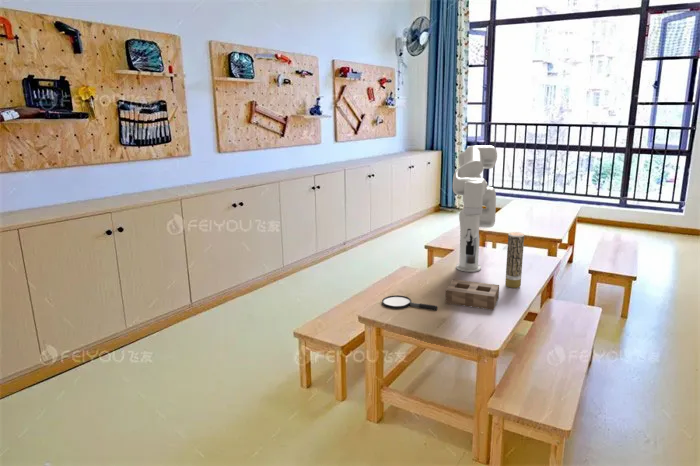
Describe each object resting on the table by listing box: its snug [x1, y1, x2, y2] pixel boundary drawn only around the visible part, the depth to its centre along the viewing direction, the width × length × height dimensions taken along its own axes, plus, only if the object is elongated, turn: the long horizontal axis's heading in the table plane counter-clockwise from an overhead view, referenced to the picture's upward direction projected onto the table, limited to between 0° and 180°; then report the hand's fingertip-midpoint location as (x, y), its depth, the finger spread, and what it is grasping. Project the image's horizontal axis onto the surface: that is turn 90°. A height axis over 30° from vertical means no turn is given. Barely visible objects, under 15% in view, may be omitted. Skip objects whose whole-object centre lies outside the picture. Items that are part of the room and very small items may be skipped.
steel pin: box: [466, 237, 476, 264], centre depth 205 cm, size 4×4×12 cm
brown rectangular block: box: [445, 278, 500, 311], centre depth 209 cm, size 14×20×6 cm
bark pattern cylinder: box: [504, 231, 525, 289], centre depth 222 cm, size 7×7×25 cm
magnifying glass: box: [381, 295, 438, 312], centre depth 206 cm, size 12×24×2 cm, turn 63°
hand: (470, 252), depth 205 cm, fingers closed on steel pin, 4 cm apart
